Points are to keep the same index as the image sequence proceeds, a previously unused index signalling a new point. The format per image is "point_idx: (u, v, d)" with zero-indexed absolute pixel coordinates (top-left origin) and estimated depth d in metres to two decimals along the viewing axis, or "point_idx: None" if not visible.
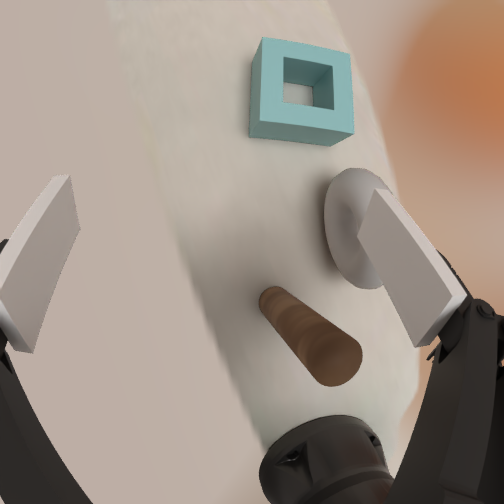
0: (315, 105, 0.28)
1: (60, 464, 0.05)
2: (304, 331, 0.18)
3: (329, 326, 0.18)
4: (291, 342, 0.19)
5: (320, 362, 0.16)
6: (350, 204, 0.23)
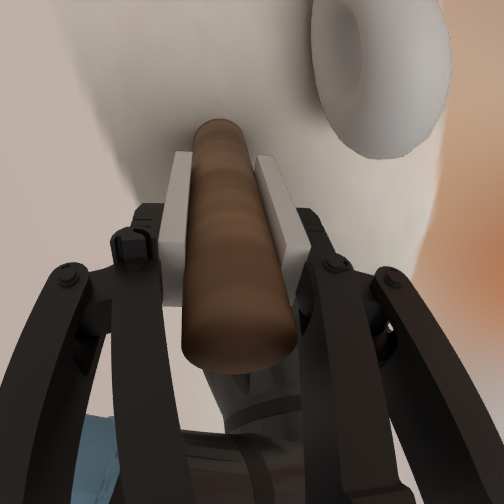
0: None
1: (183, 439, 0.06)
2: (196, 252, 0.09)
3: (241, 259, 0.08)
4: None
5: (200, 345, 0.08)
6: (352, 3, 0.08)
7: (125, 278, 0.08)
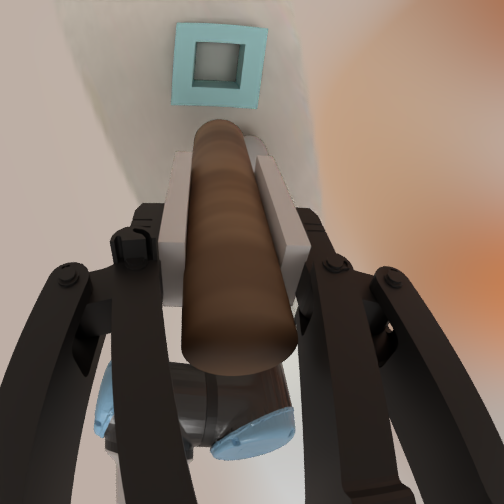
0: (238, 64, 0.29)
1: None
2: (196, 253, 0.09)
3: (241, 261, 0.08)
4: None
5: (200, 347, 0.08)
6: None
7: (125, 278, 0.08)
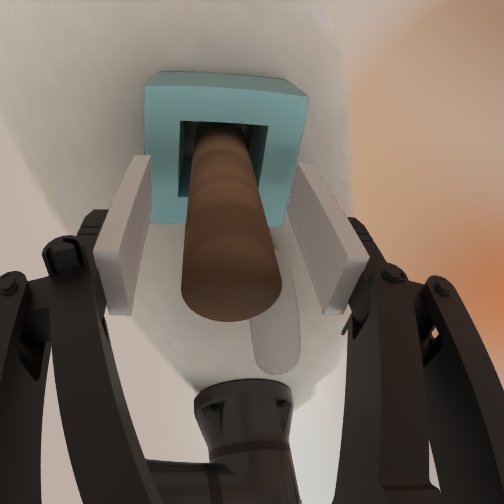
0: (252, 138, 0.20)
1: (137, 443, 0.06)
2: (196, 213, 0.11)
3: (234, 216, 0.10)
4: None
5: (197, 288, 0.09)
6: (249, 319, 0.22)
7: (60, 289, 0.07)
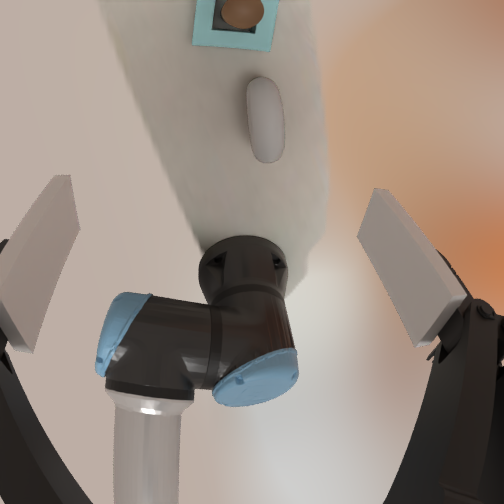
0: None
1: (60, 464, 0.05)
2: None
3: None
4: None
5: (229, 8, 0.18)
6: (250, 109, 0.31)
7: None
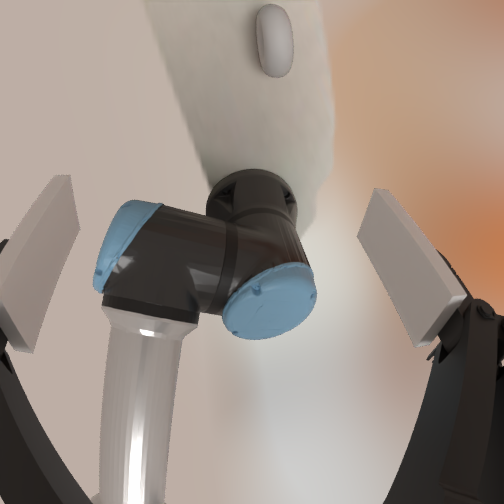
0: None
1: (60, 464, 0.05)
2: None
3: None
4: None
5: None
6: (261, 25, 0.30)
7: None
